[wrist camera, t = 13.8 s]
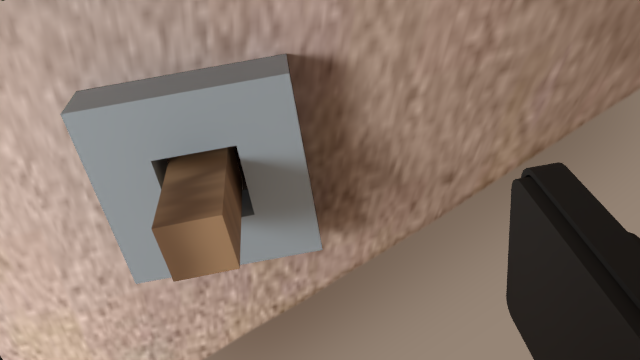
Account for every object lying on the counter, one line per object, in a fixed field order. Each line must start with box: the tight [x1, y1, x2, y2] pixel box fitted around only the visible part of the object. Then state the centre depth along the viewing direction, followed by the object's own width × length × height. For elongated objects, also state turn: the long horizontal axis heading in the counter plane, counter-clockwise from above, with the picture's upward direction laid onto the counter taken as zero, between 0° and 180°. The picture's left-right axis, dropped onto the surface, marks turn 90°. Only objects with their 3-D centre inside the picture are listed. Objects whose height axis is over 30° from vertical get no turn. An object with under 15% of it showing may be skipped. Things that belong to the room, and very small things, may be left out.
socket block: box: [61, 54, 322, 284], centre depth 39 cm, size 14×14×4 cm
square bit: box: [151, 146, 243, 281], centre depth 36 cm, size 4×4×10 cm
